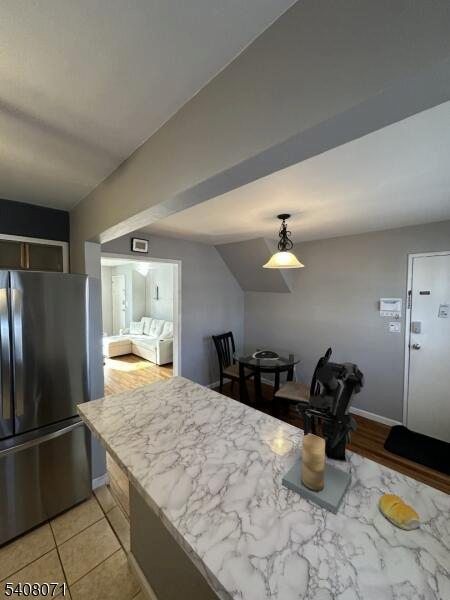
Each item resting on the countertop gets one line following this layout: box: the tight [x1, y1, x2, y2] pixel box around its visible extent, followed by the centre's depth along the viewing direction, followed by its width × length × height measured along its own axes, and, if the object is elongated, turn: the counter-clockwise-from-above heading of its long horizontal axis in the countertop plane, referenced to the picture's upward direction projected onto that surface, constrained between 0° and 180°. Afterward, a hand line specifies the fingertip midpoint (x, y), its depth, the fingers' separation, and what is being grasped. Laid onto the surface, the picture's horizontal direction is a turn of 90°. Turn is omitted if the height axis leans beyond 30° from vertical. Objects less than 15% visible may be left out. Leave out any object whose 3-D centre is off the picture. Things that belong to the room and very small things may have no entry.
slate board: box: [281, 455, 353, 515], centre depth 78 cm, size 16×16×2 cm
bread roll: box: [378, 493, 421, 531], centre depth 67 cm, size 8×9×4 cm
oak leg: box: [301, 434, 326, 493], centre depth 75 cm, size 6×6×15 cm
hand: (317, 442), depth 79 cm, fingers open, 9 cm apart
